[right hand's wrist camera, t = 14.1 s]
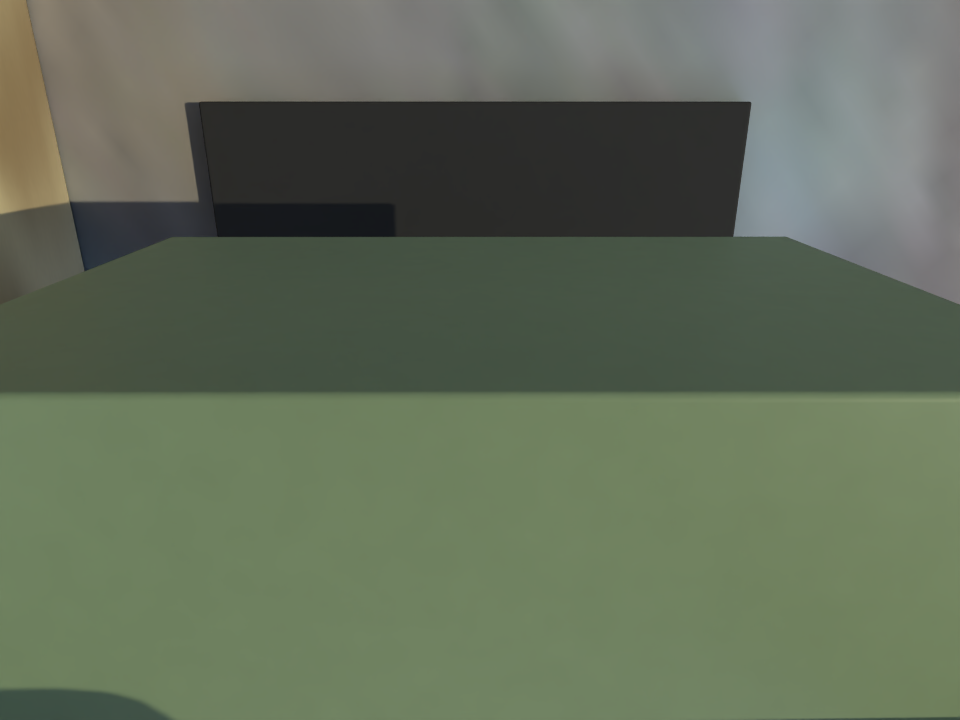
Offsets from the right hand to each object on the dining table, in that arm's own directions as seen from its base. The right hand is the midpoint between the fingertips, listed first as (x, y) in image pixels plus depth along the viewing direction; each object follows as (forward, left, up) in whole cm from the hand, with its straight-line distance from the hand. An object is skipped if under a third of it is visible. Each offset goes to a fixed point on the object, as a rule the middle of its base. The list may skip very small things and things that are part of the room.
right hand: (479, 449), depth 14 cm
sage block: (0, 0, 0) cm, 0 cm away
